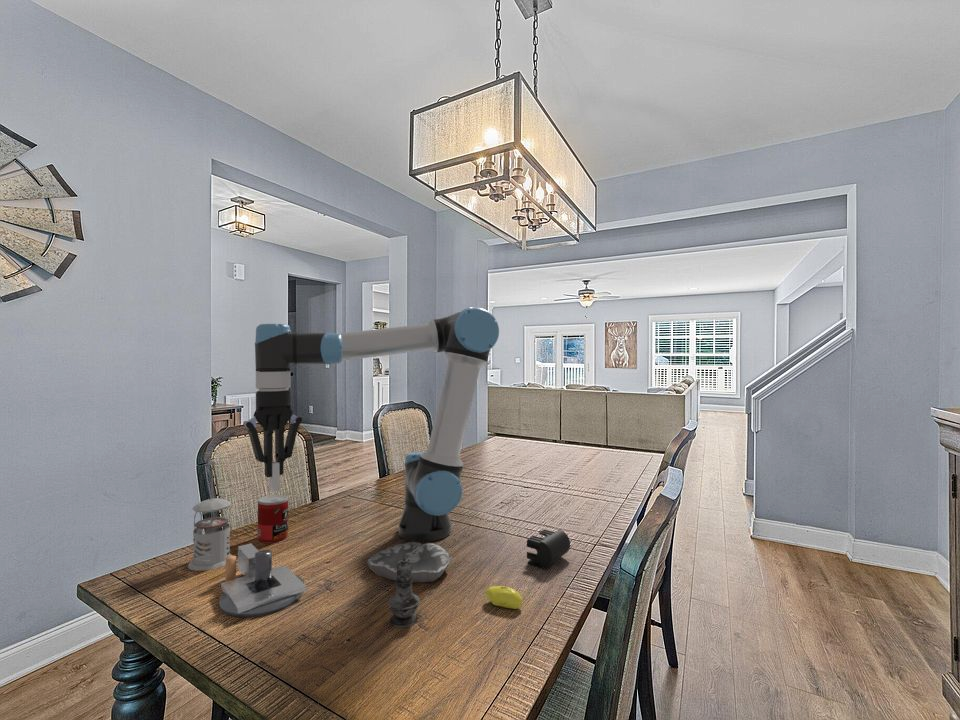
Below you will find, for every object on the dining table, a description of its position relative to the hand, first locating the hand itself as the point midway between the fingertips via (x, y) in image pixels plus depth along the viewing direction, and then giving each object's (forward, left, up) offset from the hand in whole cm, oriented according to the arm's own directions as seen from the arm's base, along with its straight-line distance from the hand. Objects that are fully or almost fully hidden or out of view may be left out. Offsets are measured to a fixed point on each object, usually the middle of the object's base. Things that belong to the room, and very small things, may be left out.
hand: (274, 489), depth 106 cm
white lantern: (+19, -1, -19) cm, 27 cm away
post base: (-5, +11, -19) cm, 22 cm away
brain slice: (-31, -8, -20) cm, 38 cm away
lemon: (-55, +4, -19) cm, 59 cm away
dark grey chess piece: (-37, +13, -19) cm, 44 cm away
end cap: (-63, -18, -19) cm, 69 cm away
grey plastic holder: (-2, +8, -18) cm, 20 cm away
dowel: (+6, +7, -19) cm, 21 cm away
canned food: (+13, -17, -19) cm, 29 cm away
